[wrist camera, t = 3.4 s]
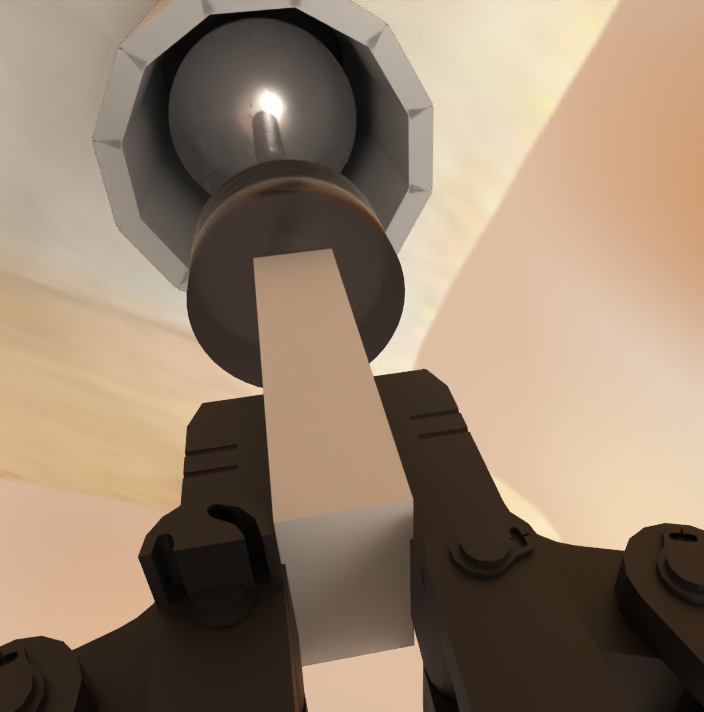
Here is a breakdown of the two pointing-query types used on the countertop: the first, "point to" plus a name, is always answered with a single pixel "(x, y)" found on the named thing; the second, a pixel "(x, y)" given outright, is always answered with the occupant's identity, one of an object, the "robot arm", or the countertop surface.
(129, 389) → the countertop surface
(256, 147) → the plunger
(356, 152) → the press beaker
